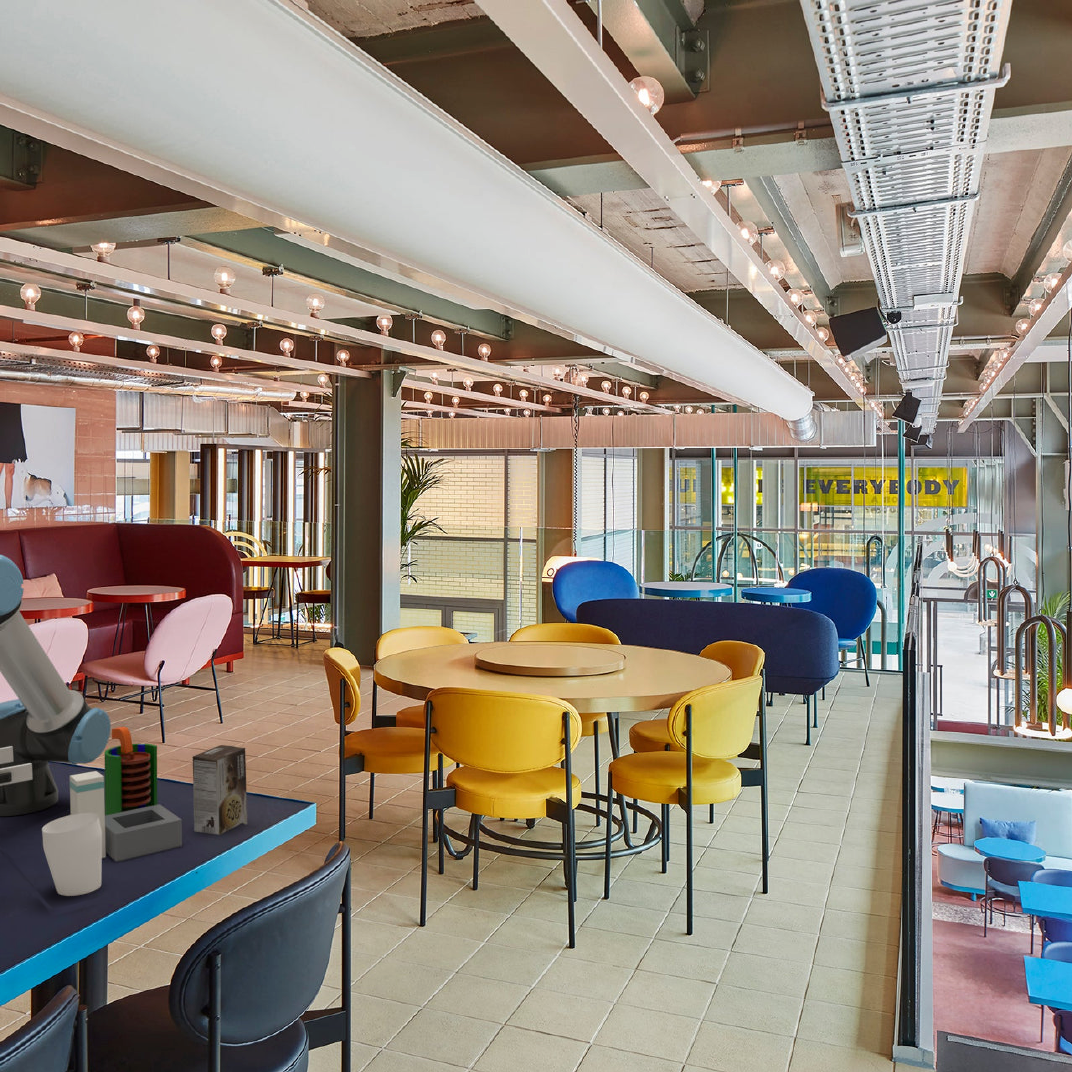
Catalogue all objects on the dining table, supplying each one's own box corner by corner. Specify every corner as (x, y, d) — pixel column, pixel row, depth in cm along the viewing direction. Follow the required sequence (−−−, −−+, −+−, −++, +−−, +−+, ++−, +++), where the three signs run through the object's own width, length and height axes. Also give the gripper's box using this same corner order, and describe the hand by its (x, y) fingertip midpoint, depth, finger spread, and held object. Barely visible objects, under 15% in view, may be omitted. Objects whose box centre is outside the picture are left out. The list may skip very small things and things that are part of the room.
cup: (69, 907, 157) (59, 836, 156) (39, 897, 162) (29, 829, 161) (119, 884, 164) (110, 816, 163) (89, 875, 169) (80, 809, 168)
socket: (96, 848, 183) (95, 817, 183) (160, 833, 191) (159, 804, 191) (116, 867, 174) (115, 834, 174) (182, 850, 182) (181, 819, 182)
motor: (134, 835, 190) (131, 736, 189) (94, 832, 192) (91, 734, 191) (163, 818, 200) (161, 723, 199) (125, 816, 202) (123, 722, 201)
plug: (71, 861, 177) (69, 775, 176) (98, 855, 180) (96, 770, 179) (78, 868, 173) (76, 781, 173) (106, 862, 176) (104, 776, 176)
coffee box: (222, 821, 198) (220, 744, 198) (248, 824, 196) (247, 746, 195) (192, 836, 190) (190, 755, 189) (219, 840, 188) (218, 758, 187)
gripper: (-131, 792, 166) (6, 766, 179) (-111, 833, 147) (41, 800, 161) (-134, 750, 165) (4, 727, 179) (-114, 785, 146) (39, 757, 160)
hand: (22, 762), depth 170 cm, fingers open, 13 cm apart
